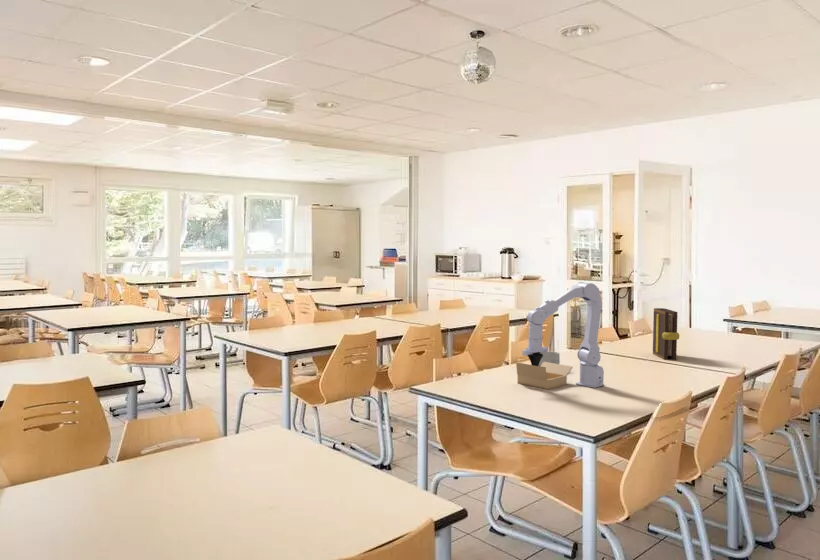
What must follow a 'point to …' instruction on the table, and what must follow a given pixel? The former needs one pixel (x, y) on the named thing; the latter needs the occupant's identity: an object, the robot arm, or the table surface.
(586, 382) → the robot arm
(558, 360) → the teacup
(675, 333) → the book
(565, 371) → the flap right
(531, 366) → the flap left
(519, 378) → the carton
